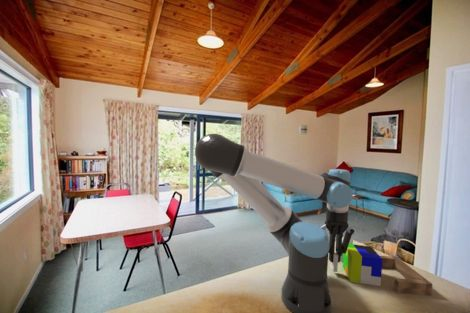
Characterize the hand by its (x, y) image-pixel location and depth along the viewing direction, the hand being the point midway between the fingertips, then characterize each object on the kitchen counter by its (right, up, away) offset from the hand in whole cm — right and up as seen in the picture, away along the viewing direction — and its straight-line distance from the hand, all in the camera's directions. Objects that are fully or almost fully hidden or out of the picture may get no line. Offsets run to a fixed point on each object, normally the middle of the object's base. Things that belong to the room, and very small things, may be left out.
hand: (333, 269), depth 85 cm
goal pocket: (+23, -3, -1) cm, 23 cm away
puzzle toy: (+10, -2, 0) cm, 10 cm away
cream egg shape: (+10, -1, +12) cm, 15 cm away
